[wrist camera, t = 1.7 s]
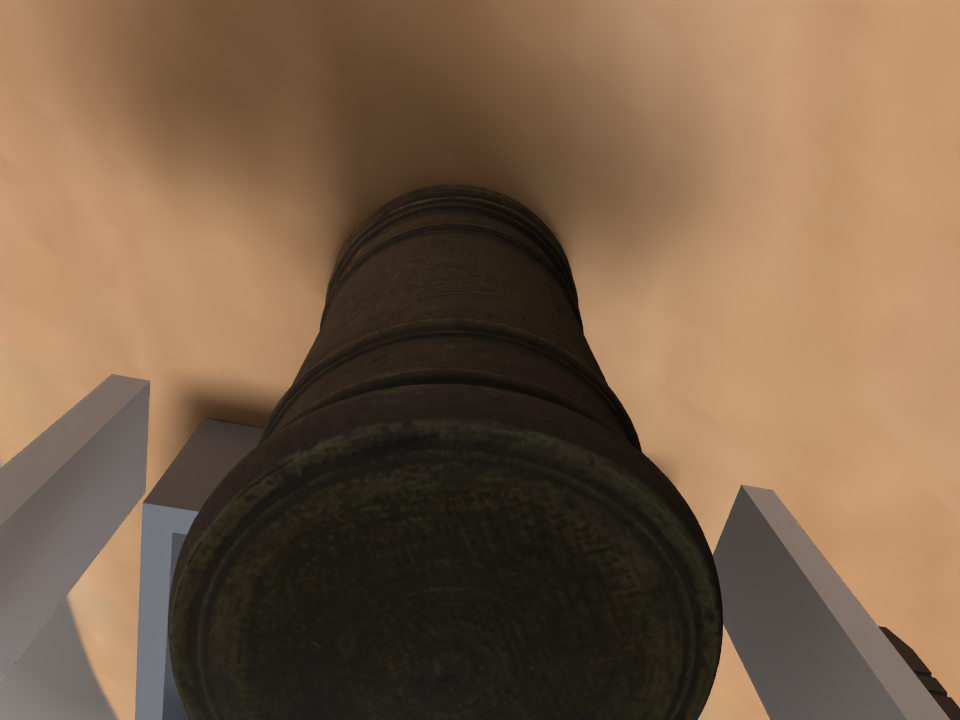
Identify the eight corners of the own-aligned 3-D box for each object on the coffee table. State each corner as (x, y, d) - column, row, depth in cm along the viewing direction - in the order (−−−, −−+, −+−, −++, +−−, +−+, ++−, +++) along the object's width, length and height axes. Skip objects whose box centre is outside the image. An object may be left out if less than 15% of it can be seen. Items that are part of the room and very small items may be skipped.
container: (287, 283, 26) (-9, 649, 10) (472, 127, 24) (497, 251, 8) (439, 444, 29) (413, 939, 13) (616, 315, 27) (862, 702, 11)
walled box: (204, 418, 28) (142, 502, 23) (669, 498, 30) (716, 593, 25) (184, 701, 34) (131, 822, 29) (574, 752, 36) (595, 874, 31)
